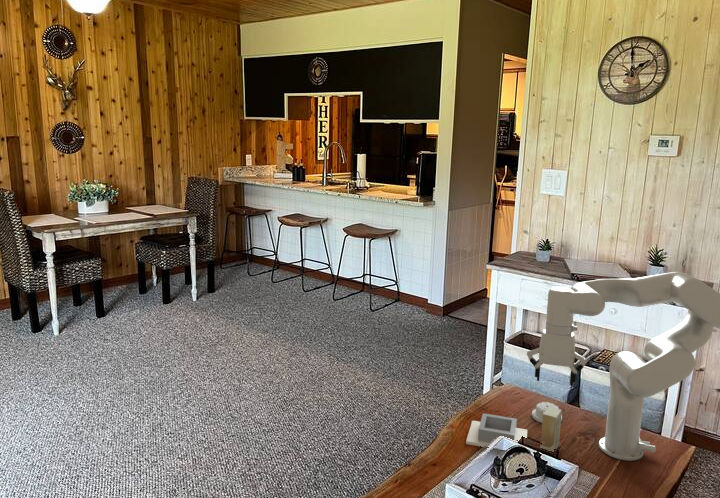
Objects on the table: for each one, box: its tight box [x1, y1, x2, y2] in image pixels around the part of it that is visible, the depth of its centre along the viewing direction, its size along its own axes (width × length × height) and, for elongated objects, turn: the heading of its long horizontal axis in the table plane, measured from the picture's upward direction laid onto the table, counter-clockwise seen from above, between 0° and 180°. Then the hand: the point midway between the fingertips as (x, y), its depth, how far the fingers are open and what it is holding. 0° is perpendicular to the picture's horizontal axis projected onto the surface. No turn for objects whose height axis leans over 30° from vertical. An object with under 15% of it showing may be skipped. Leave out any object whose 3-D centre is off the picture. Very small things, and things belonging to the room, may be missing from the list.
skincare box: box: [539, 406, 563, 453], centre depth 174 cm, size 6×4×12 cm
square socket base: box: [465, 412, 528, 448], centre depth 180 cm, size 18×14×5 cm
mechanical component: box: [531, 401, 563, 424], centre depth 193 cm, size 10×4×10 cm
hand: (554, 381), depth 171 cm, fingers open, 9 cm apart
